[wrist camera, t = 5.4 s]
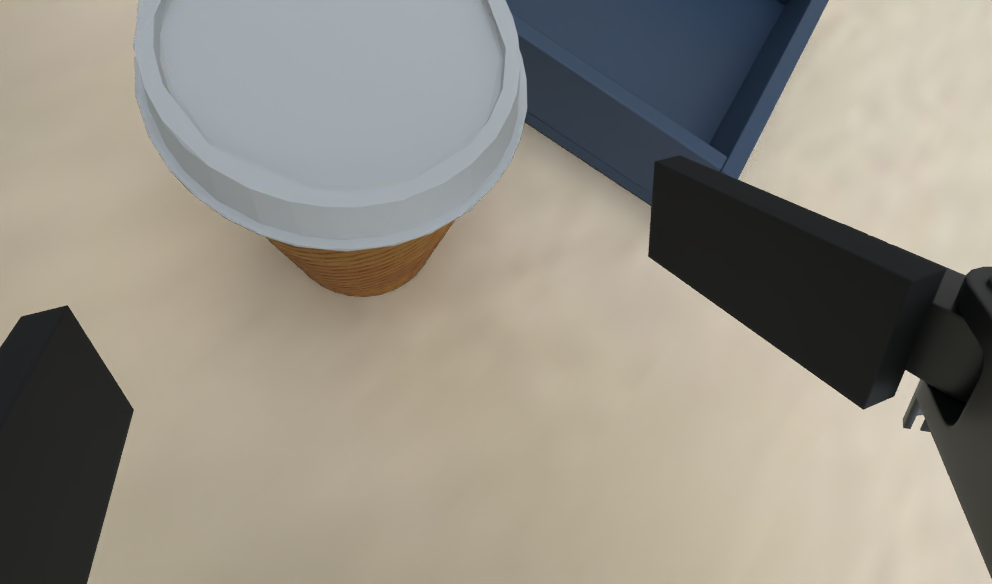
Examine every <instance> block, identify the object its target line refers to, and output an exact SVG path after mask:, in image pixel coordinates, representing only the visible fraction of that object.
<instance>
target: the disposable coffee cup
mask: <svg viewBox="0 0 992 584" xmlns="http://www.w3.org/2000/svg"><path fill="white" fill-rule="evenodd" d="M134 50H135V54H136V55H135V93H136V99H137V102H138V105H139V109H140V112H141V115H142V118H143V121H144V124H145V127H146V130H147V133H148V136H149V138H150V140H151V141H152V143H153V144H154V146H155V148H156V149H157V151H158V152H159V154H160V156H161V157H162V159H163V160H164V162H165V164H166V165H167V167H168V168H169V170H170V171H171V172H172V173H173V174H174V175H175V176H176V177H177V179H178V180H179V181H180V182H181V183H182V184H183V185H184V186H185V187H186V188H187V189H188V190H189V191H190V192H191V193H192V194H193V195H195V196H196V197H197V198H198V199H200V200H201V201H202V202H204V203H205V204H207V205H208V206H209V207H211V208H212V209H213V210H215V211H216V212H218V213H219V214H220V215H222V216H223V217H224V218H226V219H228V220H230V221H232V222H234V223H236V224H238V225H240V226H242V227H244V228H246V229H248V230H250V231H252V232H254V233H256V234H259V235H261V236H264V237H265V238H267V239H268V240H269V241H270V242H271V243H272V244H274V245H275V246H276V247H277V248H278V249H279V250H280V251H281V252H283V253H284V254H285V255H286V256H287V257H288V258H289V259H290V260H292V261H293V262H294V263H295V264H296V265H297V266H298V267H300V268H301V269H302V270H303V271H304V272H305V273H306V274H307V275H308V276H309V277H310V278H312V279H313V280H315V281H316V282H317V283H319V284H320V285H322V286H323V287H325V288H327V289H329V290H332V291H334V292H337V293H341V294H344V295H348V296H361V297H366V296H375V295H381V294H384V293H387V292H390V291H393V290H395V289H397V288H398V287H400V286H402V285H403V284H405V283H407V282H408V281H410V280H411V279H412V278H413V277H414V276H416V275H417V273H418V272H419V271H420V270H421V268H422V267H423V266H424V265H425V263H426V261H427V260H428V258H429V257H430V255H431V254H432V252H433V251H434V249H435V248H436V247H437V245H438V244H439V242H440V241H441V239H442V238H443V237H444V235H445V234H446V232H447V231H448V229H449V228H450V226H451V225H452V223H453V222H454V221H455V219H456V218H458V217H460V216H461V215H463V214H465V213H466V212H468V211H470V210H471V209H472V208H473V207H474V206H475V205H476V204H477V203H478V202H479V201H480V200H481V199H482V198H483V197H484V196H485V195H486V194H487V193H488V192H489V191H490V190H491V189H492V188H493V186H494V185H495V184H496V183H497V181H498V180H499V178H500V177H501V175H502V174H503V172H504V171H505V170H506V168H507V167H508V165H509V164H510V161H511V159H512V157H513V155H514V153H515V150H516V148H517V146H518V143H519V141H520V139H521V135H522V130H523V126H524V121H525V117H526V112H527V79H526V74H525V69H524V64H523V59H522V55H521V52H520V50H519V41H518V34H517V31H516V27H515V23H514V20H513V16H512V14H511V12H510V9H509V7H508V5H507V3H506V0H139V2H138V11H137V21H136V30H135V40H134Z"/></svg>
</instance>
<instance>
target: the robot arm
mask: <svg viewBox="0 0 992 584" xmlns="http://www.w3.org/2000/svg"><path fill="white" fill-rule="evenodd" d="M648 257H650V258H651V259H653V260H654V261H655V262H657V263H658V264H660V265H661V266H662V267H664V268H665V269H667V270H668V271H669V272H671V273H672V274H674V275H675V276H676V277H678V278H679V279H681V280H682V281H684V282H685V283H686V284H688V285H689V286H691V287H692V288H693V289H695V290H696V291H698V292H699V293H700V294H702V295H703V296H705V297H706V298H707V299H709V300H710V301H712V302H713V303H714V304H716V305H717V306H719V307H720V308H721V309H723V310H724V311H726V312H727V313H728V314H730V315H731V316H733V317H734V318H735V319H737V320H738V321H740V322H741V323H742V324H744V325H745V326H747V327H748V328H749V329H751V330H752V331H754V332H755V333H757V334H758V335H759V336H761V337H762V338H764V339H765V340H766V341H768V342H769V343H771V344H772V345H773V346H775V347H776V348H778V349H779V350H780V351H782V352H783V353H785V354H786V355H787V356H789V357H790V358H792V359H793V360H794V361H796V362H797V363H799V364H800V365H801V366H803V367H804V368H806V369H807V370H808V371H810V372H811V373H813V374H814V375H815V376H817V377H818V378H820V379H821V380H822V381H824V382H825V383H827V384H828V385H830V386H831V387H832V388H834V389H835V390H837V391H838V392H839V393H841V394H842V395H844V396H845V397H846V398H848V399H849V400H851V401H852V402H853V403H855V404H856V405H858V406H859V407H860V408H862V409H863V410H864V409H866V408H868V407H870V406H873V405H875V404H877V403H880V402H882V401H884V400H886V399H889V398H891V397H893V396H894V395H895V393H896V391H897V388H898V386H899V383H900V381H901V378H902V376H903V374H904V371H905V370H907V371H908V372H910V373H912V374H913V375H915V376H917V377H918V378H920V381H919V384H918V386H917V388H916V390H915V393H914V395H913V397H912V400H911V402H910V404H909V406H908V409H907V411H906V413H905V416H904V418H903V428H908V429H911V426H912V424H913V422H914V420H915V418H916V416H917V415H924V417H925V420H924V422H923V424H922V426H921V429H920V430H921V431H927V432H931V434H932V436H933V439H934V441H935V444H936V446H937V448H938V451H939V453H940V456H941V458H942V461H943V463H944V465H945V468H946V470H947V473H948V475H949V477H950V480H951V482H952V485H953V487H954V489H955V492H956V494H957V497H958V499H959V501H960V504H961V506H962V509H963V511H964V513H965V516H966V518H967V521H968V523H969V525H970V528H971V530H972V533H973V535H974V537H975V540H976V542H977V545H978V547H979V549H980V552H981V554H982V557H983V559H984V561H985V564H986V566H987V569H988V571H989V573H990V576H991V578H992V267H981V268H977V269H973V270H971V271H970V272H969V273H968V274H967V275H963V274H961V273H958V272H956V271H953V270H951V269H949V268H946V267H944V266H942V265H939V264H937V263H935V262H932V261H930V260H927V259H925V258H923V257H920V256H918V255H916V254H913V253H911V252H909V251H906V250H904V249H901V248H899V247H897V246H894V245H891V244H888V243H887V242H885V241H883V240H880V239H878V238H875V237H873V236H869V235H868V234H866V233H864V232H861V231H859V230H857V229H854V228H852V227H849V226H847V225H845V224H841V223H839V222H836V221H834V220H832V219H829V218H827V217H825V216H822V215H820V214H817V213H815V212H813V211H810V210H808V209H806V208H803V207H801V206H799V205H796V204H794V203H791V202H789V201H787V200H784V199H782V198H780V197H777V196H775V195H773V194H770V193H768V192H766V191H763V190H761V189H758V188H756V187H754V186H751V185H749V184H747V183H744V182H742V181H740V180H737V179H735V178H732V177H730V176H728V175H725V174H723V173H721V172H718V171H716V170H714V169H711V168H709V167H707V166H704V165H702V164H699V163H697V162H695V161H692V160H690V159H688V158H685V157H683V156H681V155H679V156H674V157H670V158H666V159H662V160H658V161H654V177H653V192H652V207H651V222H650V238H649V253H648ZM133 411H134V409H133V408H132V406H131V405H130V403H129V402H128V400H127V398H126V397H125V395H124V394H123V392H122V390H121V389H120V387H119V386H118V384H117V383H116V381H115V379H114V378H113V376H112V375H111V373H110V371H109V370H108V368H107V367H106V365H105V364H104V362H103V360H102V359H101V357H100V356H99V354H98V353H97V351H96V349H95V348H94V346H93V345H92V343H91V341H90V340H89V338H88V337H87V335H86V334H85V332H84V330H83V329H82V327H81V326H80V324H79V322H78V321H77V319H76V318H75V316H74V315H73V313H72V311H71V310H70V308H69V307H68V305H67V306H63V307H59V308H55V309H51V310H47V311H42V312H38V313H34V314H30V315H26V316H22V317H21V318H20V319H19V321H18V322H17V324H16V325H15V327H14V328H13V330H12V331H11V333H10V334H9V335H8V337H7V338H6V340H5V341H4V343H3V344H2V346H1V347H0V584H87V581H88V577H89V574H90V570H91V566H92V563H93V559H94V555H95V552H96V548H97V544H98V540H99V537H100V533H101V529H102V526H103V522H104V518H105V514H106V511H107V507H108V503H109V500H110V496H111V492H112V489H113V485H114V481H115V477H116V474H117V470H118V466H119V463H120V459H121V455H122V451H123V448H124V444H125V440H126V437H127V433H128V429H129V425H130V422H131V418H132V414H133Z"/></svg>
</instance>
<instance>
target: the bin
mask: <svg viewBox="0 0 992 584" xmlns="http://www.w3.org/2000/svg"><path fill="white" fill-rule="evenodd" d="M828 1H829V0H506V3H507V5H508V7H509V9H510V12H511V14H512V16H513V20H514V23H515V27H516V31H517V34H518V41H519V50H520V52H521V55H522V59H523V64H524V69H525V74H526V79H527V112H526V117H525V122H526V123H528V124H529V125H531V126H532V127H534V128H535V129H537V130H538V131H540V132H541V133H543V134H544V135H546V136H547V137H549V138H550V139H552V140H553V141H555V142H556V143H558V144H559V145H561V146H562V147H564V148H565V149H567V150H568V151H570V152H571V153H573V154H574V155H576V156H577V157H579V158H580V159H582V160H583V161H585V162H586V163H588V164H589V165H591V166H592V167H594V168H595V169H597V170H599V171H600V172H602V173H603V174H605V175H606V176H608V177H609V178H611V179H612V180H614V181H615V182H617V183H618V184H620V185H621V186H623V187H624V188H626V189H627V190H629V191H630V192H632V193H633V194H635V195H636V196H638V197H639V198H641V199H642V200H644V201H645V202H647V203H648V204H650V205H651V206H652V192H653V177H654V161H658V160H662V159H666V158H670V157H674V156H679V155H681V156H683V157H685V158H688V159H690V160H692V161H695V162H697V163H699V164H702V165H704V166H707V167H709V168H711V169H714V170H716V171H718V172H721V173H723V174H725V175H728V176H730V177H732V178H735V179H737V180H738V178H739V176H740V174H741V172H742V170H743V168H744V166H745V164H746V162H747V160H748V158H749V156H750V154H751V152H752V150H753V148H754V146H755V144H756V142H757V140H758V138H759V137H760V135H761V133H762V131H763V129H764V127H765V125H766V123H767V121H768V119H769V117H770V115H771V113H772V111H773V109H774V107H775V105H776V103H777V101H778V99H779V97H780V95H781V93H782V91H783V89H784V87H785V85H786V83H787V81H788V79H789V77H790V75H791V74H792V72H793V70H794V68H795V66H796V64H797V62H798V60H799V58H800V56H801V54H802V52H803V50H804V48H805V46H806V44H807V42H808V40H809V38H810V36H811V34H812V32H813V30H814V28H815V26H816V24H817V22H818V20H819V18H820V16H821V14H822V12H823V11H824V9H825V7H826V5H827V3H828Z"/></svg>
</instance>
